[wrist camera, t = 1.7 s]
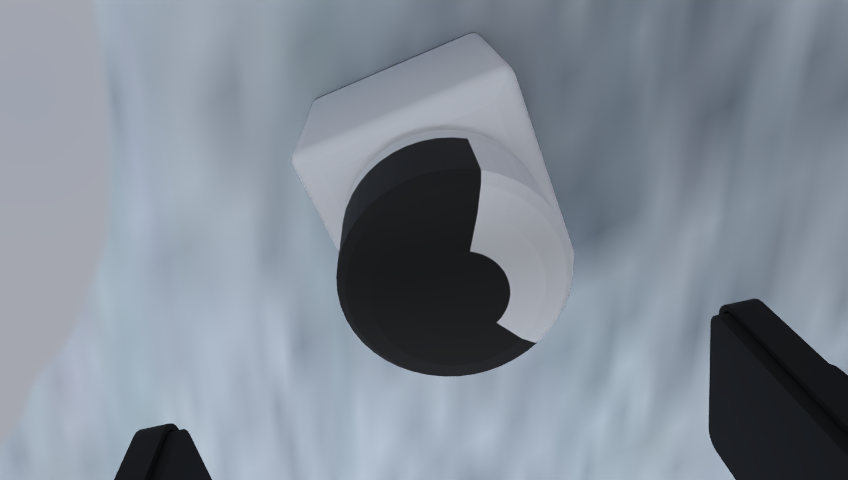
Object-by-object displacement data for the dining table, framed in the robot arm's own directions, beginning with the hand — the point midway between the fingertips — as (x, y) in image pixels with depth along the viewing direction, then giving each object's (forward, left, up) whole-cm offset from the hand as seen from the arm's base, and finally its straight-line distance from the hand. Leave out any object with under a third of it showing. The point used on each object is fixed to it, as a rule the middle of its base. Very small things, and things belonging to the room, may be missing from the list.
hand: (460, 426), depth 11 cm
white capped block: (-1, 0, -17) cm, 17 cm away
